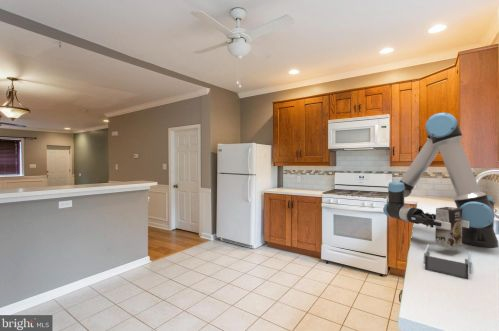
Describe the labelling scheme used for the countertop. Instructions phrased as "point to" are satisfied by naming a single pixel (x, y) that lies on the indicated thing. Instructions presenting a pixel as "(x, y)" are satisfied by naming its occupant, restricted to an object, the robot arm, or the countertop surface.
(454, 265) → the gray u-shaped bracket
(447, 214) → the coffee box
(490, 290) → the countertop surface
